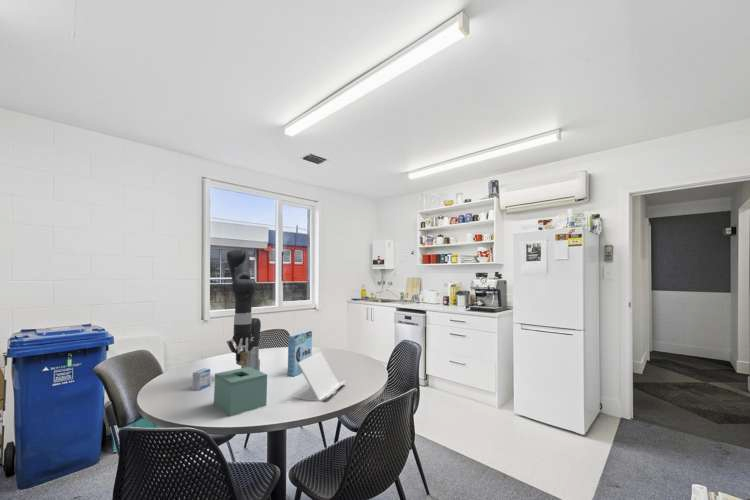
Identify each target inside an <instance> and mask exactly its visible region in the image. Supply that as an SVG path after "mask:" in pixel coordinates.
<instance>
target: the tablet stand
mask: <svg viewBox="0 0 750 500" xmlns="http://www.w3.org/2000/svg"><path fill="white" fill-rule="evenodd" d="M298 366H299V368H300V370H301V371H302V375H303V376H304V378H305V380H306V382H307V386H306V387H305V388H303V389H302V390H299V392H297V393H296V394H294V395H293V396H292V399H296V400H305V401H314V402H323V401H324V400H326V399H328V398H329V397H330V396H331V395H333V394H334V393H335V392H336V391H337V390H338V389H339V388H340V387H341V386H342V385H344V384H345V383H346V379H343V381H341V382H339V380H338V379H337V377H336V376H335V374H334V372H333V371H332V369H331V367H330V364H329V363H328V362H327V360H326V358H325V356H324V354H323V353H322V352H321V351H317V352H316V353H314V354H312V356H310V357H308V358H306V359H304V360H302V361H300V362H299V363H298Z"/></svg>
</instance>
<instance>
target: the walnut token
mask: <svg viewBox="0 0 750 500" xmlns="http://www.w3.org/2000/svg"><path fill="white" fill-rule="evenodd" d="M235 363H236V365H238V366H240V367H241V366H243V365H247V352H244V351H242V350H240V362H237V361H236V360H235Z"/></svg>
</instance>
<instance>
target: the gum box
mask: <svg viewBox="0 0 750 500" xmlns="http://www.w3.org/2000/svg"><path fill="white" fill-rule="evenodd" d="M312 336H313V331H311V330H306V331H301V332H298V333H293V334H291V335H288V339H287V340H288V343H287V345H288V346H287V347H288V348H287V349H288V352H287V376H288V377H289V376H290V377H296V376H298V375H300V374H301V373H302V371H301V370H300V368H299V366H298V363H299V362H300V361H302V360H304V359H306V358H308V357H310V356H312V355H313V354H312V353H313V352H312V351H313V345H312V344H313V343H312V342H313V341H312V340H313V337H312ZM302 374H303V373H302Z"/></svg>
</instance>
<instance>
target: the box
mask: <svg viewBox="0 0 750 500" xmlns="http://www.w3.org/2000/svg"><path fill="white" fill-rule="evenodd" d="M213 391H214V392H213V405H215V406H216V407H217V408H218V409H220V410H222V411H223V412H224V413H226V414H227V415H229V417H231V416H235V415H238V414H242V413H245V412H248V411H251V410H255V409H258V408H262V407H266V406H267V396H268V395H267V394H268V374H267V373H265V372H262V371H261V370H260V371H258V370H255V369H253V368H251V367H246V368H241V367H240V368H237V369H232V370H226V371H221V372H215V373H214V390H213Z"/></svg>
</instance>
